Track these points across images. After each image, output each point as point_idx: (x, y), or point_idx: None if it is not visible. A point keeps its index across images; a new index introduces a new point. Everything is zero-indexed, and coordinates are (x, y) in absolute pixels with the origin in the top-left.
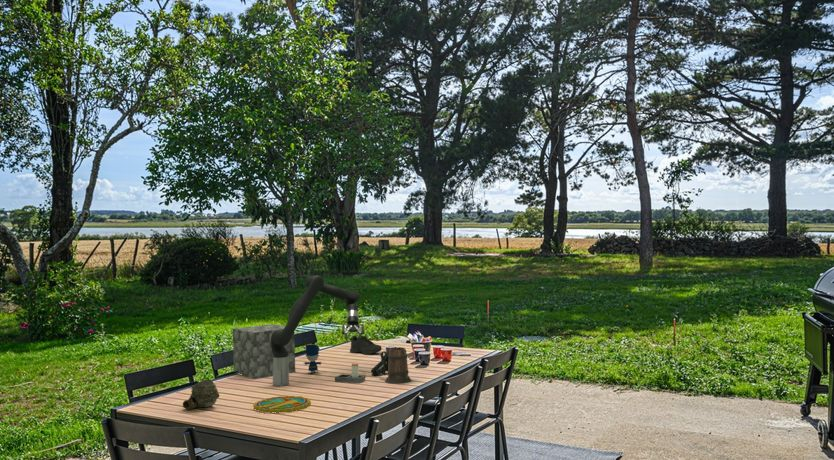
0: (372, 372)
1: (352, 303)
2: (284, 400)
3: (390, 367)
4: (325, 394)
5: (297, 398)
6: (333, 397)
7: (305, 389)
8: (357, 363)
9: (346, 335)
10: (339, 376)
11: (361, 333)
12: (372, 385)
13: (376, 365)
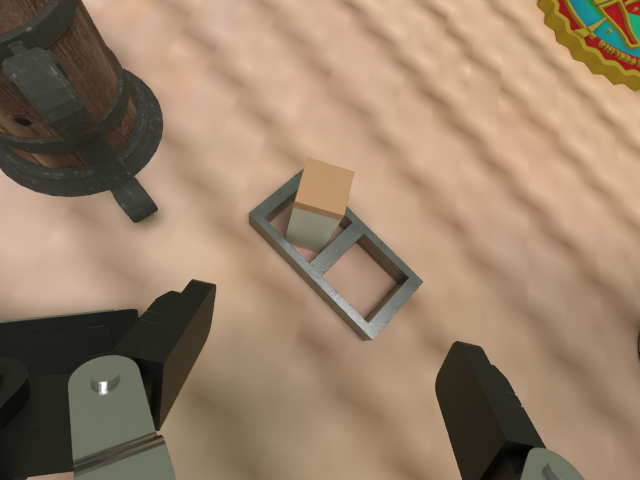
0: None
1: None
2: (623, 24)
3: (104, 45)
4: (480, 72)
5: (585, 23)
6: (456, 19)
7: (555, 193)
8: (306, 178)
9: (492, 388)
10: (391, 297)
11: (87, 374)
12: (253, 105)
13: (71, 367)
